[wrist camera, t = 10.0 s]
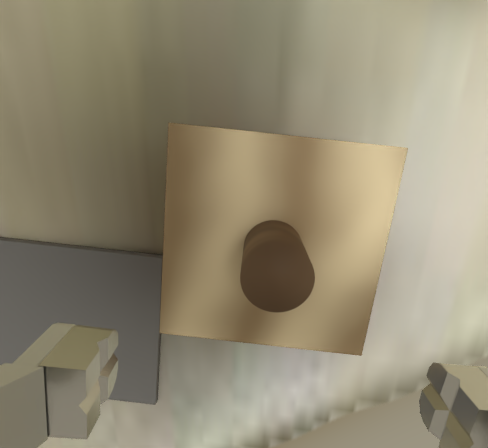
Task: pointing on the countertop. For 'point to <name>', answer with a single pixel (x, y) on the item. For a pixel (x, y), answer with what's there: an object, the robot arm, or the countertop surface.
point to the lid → (274, 236)
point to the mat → (85, 304)
